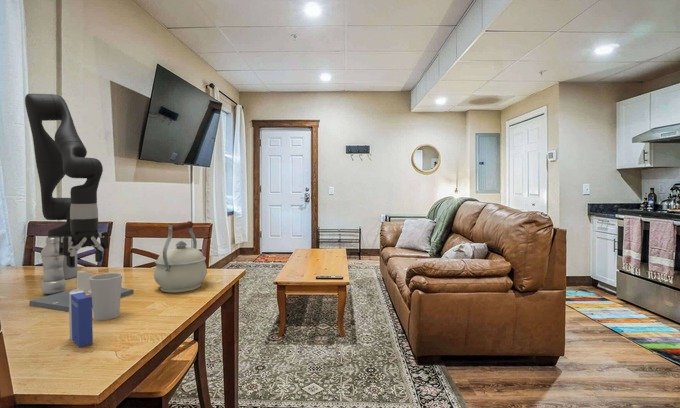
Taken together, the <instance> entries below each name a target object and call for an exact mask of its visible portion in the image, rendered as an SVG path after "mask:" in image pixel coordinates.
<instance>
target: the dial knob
mask: <svg viewBox="0 0 680 408" xmlns="http://www.w3.org/2000/svg"><path fill="white" fill-rule="evenodd" d="M92 276H93V274H92V273H91V272H88V271H87V270H77V276H76V288H77V289H75V288H73V289H74V290H72V289H70V290H71V291H70V292H69V293H71V292H77V291H83V292H85V293H87V294H89V295H90V296H91V288H90V281H89V278H90V277H92Z"/></svg>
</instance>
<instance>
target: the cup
mask: <svg viewBox="0 0 680 408" xmlns="http://www.w3.org/2000/svg"><path fill="white" fill-rule="evenodd" d="M122 280H123V274H122V273H120V272H105V273H100V274H99V273H98V274H95V275H92V277H90V278H89V281H90V288H91V297H92V306H93V307H92V320H94V321H106V320H111V319H115V318H118V316H120V306H121V298H120V296H121V288H122V282H123V281H122Z"/></svg>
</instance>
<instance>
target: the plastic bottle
mask: <svg viewBox="0 0 680 408" xmlns="http://www.w3.org/2000/svg"><path fill="white" fill-rule="evenodd" d="M45 244H46V245H45V246H44V247H43V248H42V249H41V252H40V256H41V260H42V261H41V262H42V268H43V269H42V270H43V271H42V272H43V276H42V282H41V283H42V284H41V291H42V293H43V294H44V295H53V294H57V293H60V292H64V291H66V285H67V284H66V279H64V274H63V260H64V255H59V237H48V236H47V237H45Z"/></svg>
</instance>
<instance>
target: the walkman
mask: <svg viewBox="0 0 680 408" xmlns="http://www.w3.org/2000/svg"><path fill="white" fill-rule="evenodd" d="M68 314H69V316H68V317H69V319H68V320H69V321H68V322H69V325H68V326H69V339H70V340H71V341H72V342H73V343H74V344H75V345H76V346H77V347H78V348H82V347H86V346H89V345H91V344H93V343H94V338H93V337H94V335H93V334H94V333H93V332H94V329H93V307H92V297H91V296H90V295H89V294H87V293H85V292H83V291H77V292H71V293H69V312H68Z"/></svg>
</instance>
